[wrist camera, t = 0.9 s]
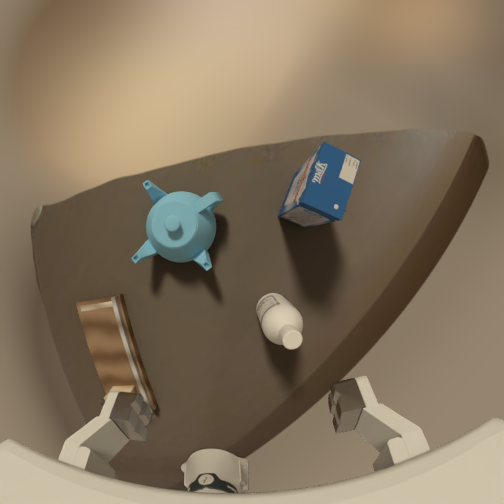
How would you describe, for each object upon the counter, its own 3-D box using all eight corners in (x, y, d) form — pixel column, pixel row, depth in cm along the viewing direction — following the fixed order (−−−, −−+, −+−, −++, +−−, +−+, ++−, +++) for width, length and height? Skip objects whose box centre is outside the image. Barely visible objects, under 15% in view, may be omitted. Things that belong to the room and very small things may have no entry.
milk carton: (294, 174, 57) (324, 141, 37) (320, 185, 57) (361, 159, 37) (277, 216, 57) (301, 202, 37) (304, 228, 57) (341, 220, 37)
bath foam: (252, 321, 57) (263, 359, 37) (259, 289, 57) (274, 313, 37) (284, 327, 57) (309, 364, 37) (291, 295, 57) (321, 320, 37)
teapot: (214, 271, 56) (210, 277, 45) (144, 260, 55) (125, 263, 44) (225, 196, 56) (223, 185, 45) (155, 188, 55) (139, 176, 44)
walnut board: (157, 404, 56) (154, 412, 52) (116, 406, 55) (111, 413, 51) (122, 293, 55) (116, 296, 51) (80, 301, 54) (72, 304, 50)
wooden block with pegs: (150, 399, 54) (143, 412, 48) (110, 400, 53) (101, 412, 47) (144, 384, 53) (136, 397, 47) (104, 386, 53) (94, 398, 47)
